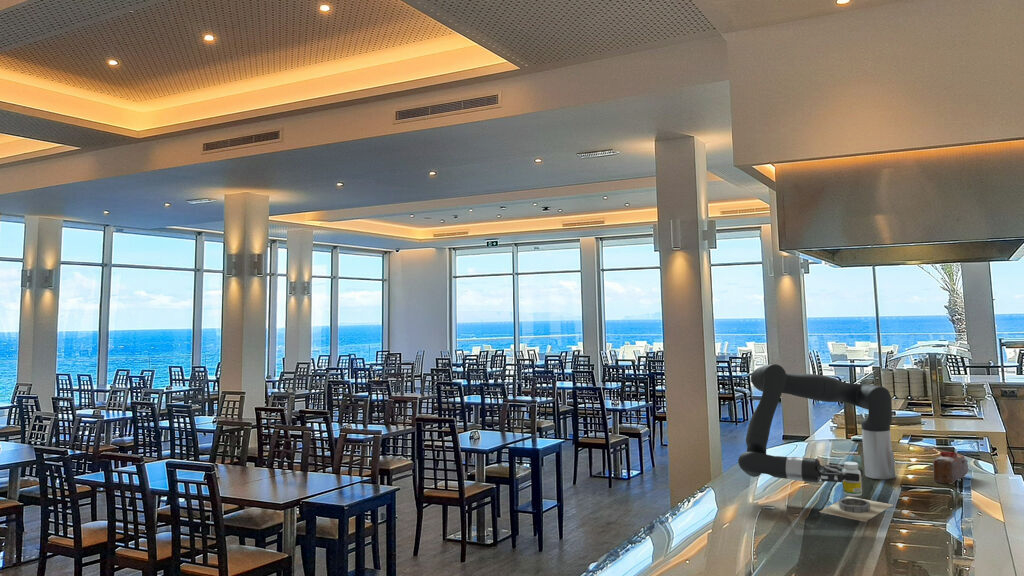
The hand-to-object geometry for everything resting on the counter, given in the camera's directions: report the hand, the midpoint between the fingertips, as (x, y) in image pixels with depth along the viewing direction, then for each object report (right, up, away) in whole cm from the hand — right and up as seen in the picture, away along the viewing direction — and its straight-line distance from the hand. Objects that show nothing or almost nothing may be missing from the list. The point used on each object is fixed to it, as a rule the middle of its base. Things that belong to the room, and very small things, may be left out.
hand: (860, 475), depth 208 cm
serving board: (-1, -12, +1) cm, 12 cm away
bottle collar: (-1, -11, +1) cm, 11 cm away
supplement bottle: (-2, -6, +1) cm, 7 cm away
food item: (+46, -9, +27) cm, 54 cm away
